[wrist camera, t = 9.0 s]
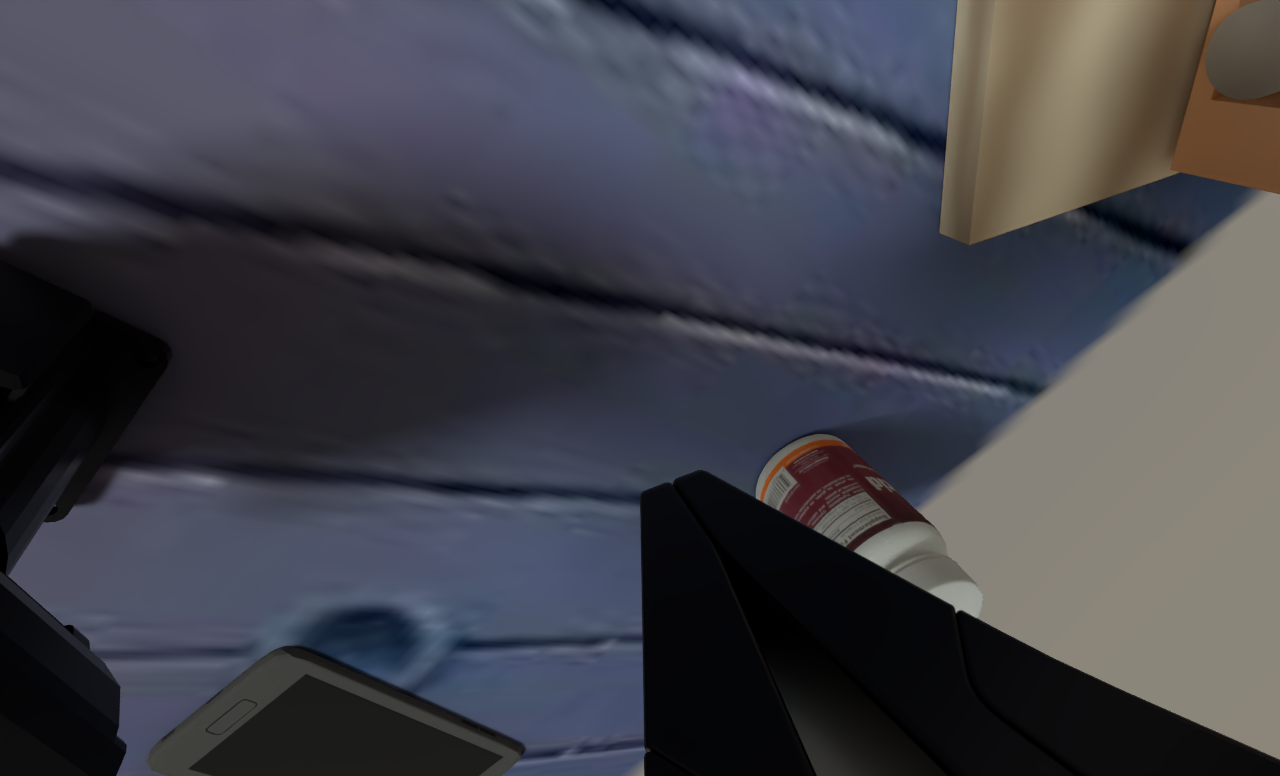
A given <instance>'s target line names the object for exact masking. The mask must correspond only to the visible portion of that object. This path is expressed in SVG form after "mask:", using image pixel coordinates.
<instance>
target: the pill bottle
mask: <svg viewBox="0 0 1280 776" xmlns="http://www.w3.org/2000/svg"><path fill="white" fill-rule="evenodd" d="M756 499H758V500H760V501H762V502H764V503H766V504H767V505H769V506H771V507H773V508H775V509H777V510H778V511H780V512H782V513H784V514H786V515H788V516H789V517H791V518H793V519H795V520H797V521H799V522H800V523H802V524H804V525H806V526H808V527H810V528H812V529H813V530H815V531H817V532H819V533H821V534H823V535H824V536H826V537H828V538H830V539H832V540H834V541H835V542H837V543H839V544H841V545H843V546H845V547H846V548H848V549H850V550H852V551H854V552H856V553H857V554H859V555H861V556H863V557H865V558H867V559H868V560H870V561H872V562H874V563H876V564H878V565H880V566H881V567H883V568H885V569H887V570H889V571H891V572H892V573H894V574H896V575H898V576H900V577H902V578H903V579H905V580H907V581H909V582H911V583H913V584H914V585H916V586H918V587H920V588H922V589H924V590H925V591H927V592H929V593H931V594H933V595H935V596H936V597H938V598H940V599H942V600H944V601H946V602H948V603H949V604H951V605H953V606H954V608H955V610H956V612H957V611H959V610H963V611H965V612H966V613H968V614H970V615H972V616H974V617H976V618H978V616H979V613H980V611H981V608H982V604H983V595H982V591H981V589H980V588H979V586H978V585H977V584H976V583H975V581H974V580H973V579H972V578H971V577H970V576H969V575H967V573H966V572H965V571H964V570H962V568H961V567H960V566H959V565H958V564H957V563H956V562H955V561H953V560H952V559H951V558H949V557H948V556H947V548H946V544H945V542H944V540H943V538H942V536H941V535H940V533H939V532H938V530H937V529H936V528H935V527H934V526H933V525H932V524H931V523H930V522H929V521H928V520H926V519H925V518H924V517H923V516H922V514H920V513H919V512H918V511H917V510H916V509H914V508H913V507H912V506H911V505H910V504H909V503H908V502H907V501H906V500H905V499H904V498H903V497H902V496H901V495H900V494H899V493H898V492H897V491H896V490H895V489H894V488H893V487H892V486H891V485H890V484H889V483H888V482H887V481H886V480H885V479H884V478H882V477H881V476H880V475H879V474H878V473H877V472H876V471H875V470H874V469H873V468H872V467H871V466H869V465H868V464H867V463H866V462H865V461H864V460H863V459H862V458H861V457H860V456H859V455H858V454H857V453H856V452H855V451H853V450H852V449H851V448H850V447H849V446H848V445H847V444H846V443H845V442H844V441H842V440H841V439H839V438H837V437H835V436H832V435H827V434H815V435H810V436H806V437H803V438H800V439H798V440H796V441H794V442H792V443H790V444H788V445H787V446H785V447H784V448H782V449H781V450H780V451H778V452H777V453H776V454H775V455H774V456H773V457H772V458H771V459H770V460H769V461H768V463H767V464H766V465H765V467H764V469H763V470H762V472H761V474H760V476H759V479H758V482H757V487H756Z"/></svg>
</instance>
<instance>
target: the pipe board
mask: <svg viewBox="0 0 1280 776" xmlns="http://www.w3.org/2000/svg"><path fill="white" fill-rule="evenodd" d="M1215 4H1216V0H958V4H957V17H956V29H955V42H954V55H953V67H952V80H951V93H950V105H949V118H948V130H947V143H946V156H945V168H944V181H943V194H942V206H941V219H940V231H939V233H941V234H943V235H945V236H948V237H950V238H952V239H955V240H957V241H960V242H962V243H964V244H967V245H972V244H975V243H978V242H981V241H983V240H986V239H989V238H992V237H995V236H998V235H1001V234H1004V233H1007V232H1009V231H1012V230H1015V229H1018V228H1021V227H1024V226H1027V225H1030V224H1033V223H1036V222H1038V221H1041V220H1044V219H1047V218H1050V217H1053V216H1056V215H1059V214H1062V213H1064V212H1067V211H1070V210H1073V209H1076V208H1079V207H1082V206H1085V205H1088V204H1091V203H1093V202H1096V201H1099V200H1102V199H1105V198H1108V197H1111V196H1114V195H1117V194H1120V193H1122V192H1125V191H1128V190H1131V189H1134V188H1137V187H1140V186H1143V185H1146V184H1148V183H1151V182H1154V181H1157V180H1160V179H1163V178H1166V177H1169V176H1172V175H1175V174H1177V173H1181V172H1177V171H1172V170H1170V168H1171V164H1172V160H1173V157H1174V153H1175V149H1176V146H1177V142H1178V139H1179V135H1180V131H1181V128H1182V124H1183V120H1184V117H1185V113H1186V109H1187V106H1188V102H1189V99H1190V95H1191V91H1192V88H1193V84H1194V80H1195V77H1196V73H1197V69H1198V66H1199V62H1200V58H1201V55H1202V51H1203V48H1204V44H1205V40H1206V37H1207V33H1208V29H1209V26H1210V22H1211V18H1212V15H1213V11H1214V8H1215ZM1205 68H1206V73H1207V76H1208V79H1209V81H1210V83H1211V84H1212V85H1213V87H1214V88H1215V89H1216V90H1217V91H1218V92H1220V93H1221V94H1223V95H1225V96H1227V97H1229V98H1232V99H1238V100H1251V99H1257V98H1260V97H1263V96H1267V95H1270V94H1273V93H1276V92H1279V91H1280V0H1260V1H1257V2H1254V3H1251V4H1248V5H1246V6H1243V7H1241V8H1240V9H1238V10H1236V11H1235V12H1233V13H1232V14H1231V15H1229V16H1228V17H1227V18H1226V19H1225V20H1224V21H1223V22H1222V23H1221V24H1220V25H1219V27H1218V28H1217V29H1216V31H1215V32H1214V34H1213V36H1212V37H1211V40H1210V42H1209V44H1208V47H1207V51H1206V56H1205Z"/></svg>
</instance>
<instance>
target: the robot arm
mask: <svg viewBox="0 0 1280 776" xmlns="http://www.w3.org/2000/svg"><path fill="white" fill-rule="evenodd" d="M142 350H145V351H149V352H151V353H152V354H154V355H155V357H156V359H157V360H155V361H148V360H144V359H143V358H141V357H140V356H139V354H138V351H142ZM171 357H172V353H171V349H170V347H169V346H168V345H167V343H166V342H164V341H162V340H161V339H159V338H157V337H155V336H153V335H151V334H149V333H146V332H144V331H142V330H140V329H138V328H135V327H133V326H131V325H129V324H127V323H124V322H122V321H120V320H118V319H116V318H113V317H111V316H109V315H107V314H105V313H102V312H100V311H98V310H96V309H94V308H93V307H92V305H91V304H90V303H89V301H88V300H86V299H84V298H82V297H79V296H77V295H75V294H73V293H71V292H68V291H66V290H64V289H62V288H60V287H58V286H55V285H53V284H51V283H49V282H47V281H45V280H42V279H40V278H38V277H36V276H34V275H31V274H29V273H27V272H25V271H23V270H21V269H18V268H16V267H14V266H12V265H10V264H8V263H5V262H3V261H1V260H0V776H116V775H117V772H118V770H119V768H120V765H121V763H122V761H123V758H124V756H125V753H126V746H127V745H126V744H125V742H124V741H123V740H122V739H120V738H119V737H118V736H117V731H118V728H119V710H120V686H119V684H118V683H117V681H116V680H115V678H114V677H113V675H112V674H111V672H110V671H109V669H108V668H107V666H106V665H105V663H104V662H103V661H102V660H101V659H99V658H98V657H97V656H96V655H95V654H94V653H93V652H91V651H90V644H89V640H88V639H87V638H86V637H85V636H84V635H83V634H81V633H80V632H79V631H78V630H77V629H76V628H75V627H74V626H72V625H66V626H64V625H63V624H61V623H60V622H59V621H58V620H57V619H56V618H55V617H54V616H52V615H51V614H50V613H49V612H48V611H47V610H46V609H44V608H43V607H42V606H41V605H40V604H39V603H38V602H37V601H35V600H34V599H33V598H32V597H31V596H30V595H29V594H27V593H26V592H25V591H24V590H23V589H22V588H21V587H20V586H18V585H17V584H16V583H15V582H14V581H13V580H12V579H11V578H9V577H8V575H9V574H10V572H11V571H12V569H13V568H14V566H15V565H16V563H17V561H18V560H19V558H20V557H21V555H22V554H23V552H24V551H25V549H26V548H27V546H28V545H29V543H30V542H31V540H32V538H33V537H34V535H35V534H36V532H37V531H38V529H39V528H40V526H41V525H42V523H43V522H56V521H59V520H61V519H63V518H64V517H65V516H67V515H68V513H69V512H70V510H71V509H72V507H73V506H74V504H75V503H76V501H77V500H78V498H79V497H80V495H81V494H82V492H83V491H84V489H85V488H86V486H87V485H88V484H89V482H90V481H91V479H92V478H93V476H94V475H95V473H96V472H97V470H98V469H99V467H100V466H101V464H102V463H103V461H104V460H105V458H106V457H107V455H108V454H109V452H110V451H111V449H112V448H113V446H114V445H115V443H116V442H117V440H118V439H119V437H120V436H121V435H122V433H123V432H124V430H125V429H126V427H127V426H128V424H129V423H130V421H131V420H132V418H133V417H134V415H135V414H136V412H137V411H138V409H139V408H140V406H141V405H142V403H143V402H144V400H145V399H146V397H147V396H148V394H149V393H150V391H151V390H152V388H153V387H154V386H155V384H156V383H157V381H158V380H159V378H160V377H161V375H162V374H163V372H164V371H165V369H166V368H167V366H168V364H169V363H170V360H171ZM55 504H56V506H54V505H55ZM640 515H641V575H642V634H643V693H644V747H645V750H646V754H645V756H644V776H1280V760H1279V759H1277V758H1275V757H1272V756H1270V755H1268V754H1266V753H1263V752H1261V751H1259V750H1257V749H1254V748H1252V747H1250V746H1247V745H1245V744H1243V743H1241V742H1238V741H1236V740H1234V739H1232V738H1229V737H1227V736H1225V735H1222V734H1220V733H1218V732H1216V731H1213V730H1211V729H1209V728H1207V727H1204V726H1202V725H1200V724H1198V723H1195V722H1193V721H1191V720H1189V719H1186V718H1184V717H1182V716H1180V715H1177V714H1175V713H1173V712H1171V711H1168V710H1166V709H1164V708H1161V707H1159V706H1157V705H1155V704H1152V703H1150V702H1147V701H1146V700H1143V699H1141V698H1139V697H1137V696H1134V695H1132V694H1130V693H1127V692H1125V691H1123V690H1121V689H1119V688H1116V687H1114V686H1112V685H1110V684H1108V683H1106V682H1103V681H1101V680H1099V679H1097V678H1095V677H1093V676H1091V675H1088V674H1086V673H1084V672H1082V671H1080V670H1078V669H1075V668H1073V667H1071V666H1069V665H1067V664H1064V663H1063V662H1060V661H1058V660H1056V659H1054V658H1052V657H1050V656H1048V655H1046V654H1044V653H1042V652H1040V651H1039V650H1036V649H1035V648H1033V647H1031V646H1029V645H1027V644H1025V643H1023V642H1021V641H1019V640H1017V639H1015V638H1013V637H1011V636H1009V635H1007V634H1006V633H1004V632H1002V631H1000V630H998V629H996V628H994V627H992V626H990V625H988V624H987V623H985V622H983V621H981V620H979V619H977V618H976V617H974V616H972V615H970V614H968V613H966V612H965V611H963V610H959V611H957V612H956V610H955V608H954V606H953V605H951V604H949V603H948V602H946V601H944V600H942V599H940V598H938V597H936V596H935V595H933V594H931V593H929V592H927V591H925V590H924V589H922V588H920V587H918V586H916V585H914V584H913V583H911V582H909V581H907V580H905V579H903V578H902V577H900V576H898V575H896V574H894V573H892V572H891V571H889V570H887V569H885V568H883V567H881V566H880V565H878V564H876V563H874V562H872V561H870V560H868V559H867V558H865V557H863V556H861V555H859V554H857V553H856V552H854V551H852V550H850V549H848V548H846V547H845V546H843V545H841V544H839V543H837V542H835V541H834V540H832V539H830V538H828V537H826V536H824V535H823V534H821V533H819V532H817V531H815V530H813V529H812V528H810V527H808V526H806V525H804V524H802V523H800V522H799V521H797V520H795V519H793V518H791V517H789V516H788V515H786V514H784V513H782V512H780V511H778V510H777V509H775V508H773V507H771V506H769V505H767V504H766V503H764V502H762V501H760V500H758V499H756V498H755V497H753V496H751V495H749V494H747V493H745V492H744V491H742V490H740V489H738V488H736V487H734V486H732V485H731V484H729V483H727V482H725V481H723V480H721V479H720V478H718V477H716V476H714V475H712V474H710V473H709V472H707V471H704V470H697V471H695V472H692V473H690V474H687V475H684V476H682V477H679V478H677V479H675V480H674V482H673V485H672V484H671V483H668V482H667V483H663V484H661V485H658V486H655V487H653V488H650V489H648V490H645V491H643V492H642V493H641V496H640Z"/></svg>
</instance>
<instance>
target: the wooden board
mask: <svg viewBox="0 0 1280 776" xmlns="http://www.w3.org/2000/svg"><path fill="white" fill-rule="evenodd" d="M1257 1H1260V0H1216V4H1215V8H1214V11H1213V15H1212V18H1211V22H1210V26H1209V29H1208V33H1207V37H1206V40H1205V44H1204V48H1203V51H1202V55H1201V58H1200V62H1199V66H1198V69H1197V73H1196V77H1195V80H1194V84H1193V88H1192V91H1191V95H1190V99H1189V102H1188V106H1187V109H1186V113H1185V117H1184V120H1183V124H1182V128H1181V131H1180V135H1179V139H1178V142H1177V146H1176V149H1175V153H1174V157H1173V160H1172V164H1171V168H1170V170H1172V171H1177V172H1181V173H1186V174H1191V175H1195V176H1200V177H1204V178H1209V179H1213V180H1218V181H1223V182H1227V183H1232V184H1236V185H1241V186H1245V187H1250V188H1255V189H1259V190H1264V191H1268V192H1273V193H1277V194H1280V91H1279V92H1276V93H1273V94H1270V95H1267V96H1263V97H1260V98H1257V99H1251V100H1238V99H1232V98H1229V97H1227V96H1225V95H1223V94H1221V93H1220V92H1218V91H1217V90H1216V89H1215V88H1214V87H1213V85H1212V84H1211V83H1210V81H1209V79H1208V76H1207V73H1206V68H1205V56H1206V51H1207V47H1208V44H1209V42H1210V40H1211V37H1212V36H1213V34H1214V32H1215V31H1216V29H1217V28H1218V27H1219V25H1220V24H1221V23H1222V22H1223V21H1224V20H1225V19H1226V18H1227V17H1228V16H1229V15H1231V14H1232V13H1233V12H1235V11H1236V10H1238V9H1240V8H1241V7H1243V6H1246V5H1248V4H1251V3H1254V2H1257Z"/></svg>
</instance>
